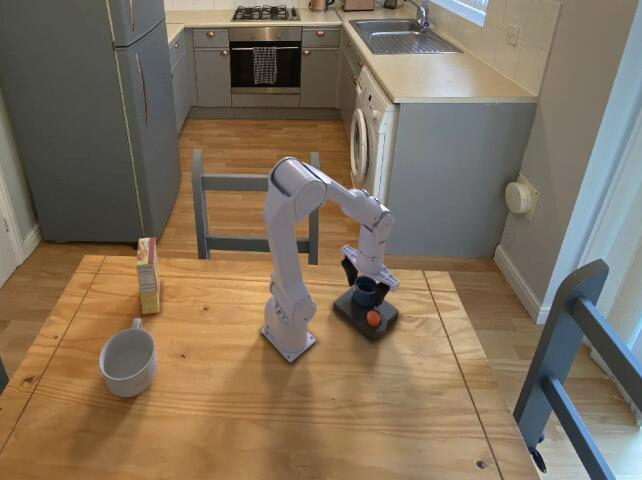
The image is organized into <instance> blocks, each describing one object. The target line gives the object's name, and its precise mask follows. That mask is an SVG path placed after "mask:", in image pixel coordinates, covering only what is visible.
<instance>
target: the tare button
mask: <svg viewBox="0 0 642 480" xmlns="http://www.w3.org/2000/svg"><path fill="white" fill-rule="evenodd" d="M367 323H368V324H369V325H370V326H372V327H377V326H379V324H380V315H379V314H378V313H377V312H374V311H370V312H368V314H367Z"/></svg>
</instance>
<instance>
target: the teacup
mask: <svg viewBox="0 0 642 480" xmlns="http://www.w3.org/2000/svg"><path fill="white" fill-rule="evenodd" d="M98 368H99V370H100V372H101V374H102V378H103V381H104V382H105V385H106V387H107V389H108V390H109V391H110V392H111V393H112V394H113V395H114V396H116V397H120V398H130V397H131V398H132V397H134V396H137V395H140V394H141V393H142V392H144V391H145V390H146V389H147V388H148V387H150V385H151V384H152V382H153V380H154V378H155V377H156V373H157V370H158V355H157V350H156V342H155V339H154V337H153V335H152V334H151V333H150V332H149V331H148V330H145V329H143V320H142V319H141V318H140V317H139V318H137V317H136V318H134V319H133V320H132V323H131V328H126V329H123V330H121V331H118V332H117V333H115V334H113V335H112V336H111V337H110V338H109V339H108V340H107V341H106V342H105V344H104V345H103V346H102V348H101V350H100V353H99V356H98Z"/></svg>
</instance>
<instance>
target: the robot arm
mask: <svg viewBox="0 0 642 480" xmlns="http://www.w3.org/2000/svg"><path fill="white" fill-rule="evenodd" d="M267 185H268V188H267V191H266V196H265V199H264V200H265V201H264V204H263V205H264V206H263V208H262V219H263V220H262V221H263V224H264V229H265V234H266V238H267V244H268V247H269V252H270V257H271V261H272V266H273V272H271V273H270V274H269V275H270V282H269V285H268V291H269V293H270V294H271V296H270V297H269V298H268V300H267V301H266V303H265V306H264V314H263V315H264V317H263V318H264V319H263V320H264V321H263V322H264V323H263V327H262V328H261V330H260V331H261V334H262V335H263V336H264V337H265V338H266V339H267V340H268V341H269V342H270V343H271V345H273V346H274V348H275V349H276V350H277V351H278V352H279V353H280V354H281V355H282V356H283V358H285V360H287V362H289V363H292V362H293V361H295V360H296V359H298V357H300V356H301V355H302V354H303V353H304V352H305V351H307V350H308V349H309V348H310V347H311V346H312V345H313V344H315V343H316V342H317V341H316V338H315V337H314V336H313V335H312V333H310V332H309V331H308V330H309V323H310V322H311V321H312V320H313V319H314V317H315V316H316V312H317V309H318V307H317V303H316V301H314V300H313V299H312V295H311V292H310V291H309V289H308V286H307V285H306V283H305V281H304V278H303V273H302V268H301V262H300V261H301V260H300V256H299V250H298V244H297V237H296V232H295V226H294V225H296V226H297V225H299V224H300V223H301V222H302V221H304V219H306V218H307V217H308V216H309V215H310V214H312V213H313V212H314V211H315V210H316V209H317V208H318V207H319V206H323V205H325V203H326V202H327V200H330V201H332V202H334V203H335V204H338V205H339V207H340V211H341V212H342V213H343V214H344V215H345V216H347V217H349V218H351V219H353V220H354V221H356V222H358V223H360V227H359V233H358V234H359V236H358V242H357V243H358V244H357V249H356V248H353V247H351V246H349V245H348V244H345V245H344V246H343V247H341V248H340V256H342V257H344V258H343V259H342V260H341V261H340V265H341V268H342V269H343V270H344V273H345V275H346V278H347V279H346V280H347V284H348V287H351V288H352V287H353V286H354V282H355V279H356V278H357V277H358V276H359V273H360V274H361V275H365V276H367V277H370V278H372V279H374V280H375V281H376V282H377V283H378V284H377V285H376V286H374V290H375V302H374V304H375V306H376V307H378V306H379V305H381V304H382V302H383V300H385V298H386V296H387V295H388V294H389V292H392V294H393V293H395V292H396V291H397V290H398V289H399V288H400V280H398V279H397V278H396V277H395V276H394V275H393V274H392V273H391V271H389V269H388V268H387V267H386V266H385V265H384V258H385V257H384V256H385V251H386V245H387V240H388V239H389V237H390V235H391V231H392V230H393V228H394V227H395V225H396V222H397V220H396V219H395V217H394V213H393V212H392V211H391V210H390V209H389V208H387V207H386V206H385V205H384V204H382V201H381V200H380V199H378V198H376V197H374V196H371V194H370V193H369V192H368V191H367V190H366V189H364V188H361V190H360V189H358V188H350V189H347V188H345V186H343V185H341V184H340V183H338V182H337V181H335V180H334V179H333V178H331V177H330V176H329V175H327V174H325V173H324V172H322V171H321V170H319V169H318V168H315V167H313V166H312V165H310V164H308V163H306V162H303V161H301V163H300V161H299V160H298V159H297V158H296V157H294V156H286V157H283V158H281V159H279V160H278V161H277V162H276V163H275V165H274V166H273V167H272V168H271V170H270V171H269V173H268V174H267Z"/></svg>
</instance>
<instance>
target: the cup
mask: <svg viewBox="0 0 642 480" xmlns="http://www.w3.org/2000/svg"><path fill="white" fill-rule="evenodd" d="M378 283H379V282H378V281H377V280H375V279H372V278H370V277H367V276H365V275H363V274H361V275H358V277H357V278H356V279H355V282H354V285H353V286H354V289H353V297H354V300H355V301H356V302H357V303H358V304H360V305H362V306H365V307H370V306H373V305H374V302H375V290H374V286H376V285H377V284H378Z"/></svg>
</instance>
